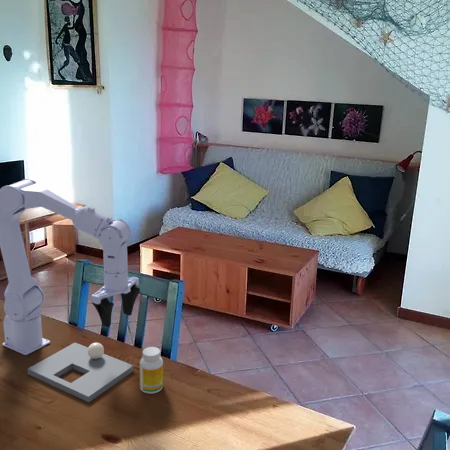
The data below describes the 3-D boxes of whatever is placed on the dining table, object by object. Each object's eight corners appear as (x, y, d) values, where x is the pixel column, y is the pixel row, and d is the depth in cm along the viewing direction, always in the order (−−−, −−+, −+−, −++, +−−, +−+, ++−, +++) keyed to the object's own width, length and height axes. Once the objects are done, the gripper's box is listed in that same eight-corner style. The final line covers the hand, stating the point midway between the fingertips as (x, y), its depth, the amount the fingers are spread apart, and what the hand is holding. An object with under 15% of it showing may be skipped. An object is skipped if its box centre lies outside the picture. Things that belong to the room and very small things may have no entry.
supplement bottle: (135, 386, 118) (134, 349, 116) (155, 378, 122) (155, 342, 119) (147, 397, 114) (147, 360, 112) (167, 389, 118) (167, 352, 115)
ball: (84, 359, 126) (83, 344, 125) (95, 352, 129) (95, 338, 128) (96, 363, 124) (95, 349, 123) (107, 356, 127) (107, 342, 126)
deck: (28, 374, 121) (27, 368, 121) (75, 347, 134) (74, 342, 133) (88, 402, 112) (88, 396, 111) (133, 370, 124) (133, 365, 124)
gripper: (106, 282, 116) (108, 335, 120) (147, 264, 128) (148, 313, 132) (84, 275, 119) (86, 327, 123) (126, 258, 131) (127, 306, 135)
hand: (117, 319), depth 128 cm, fingers open, 7 cm apart
